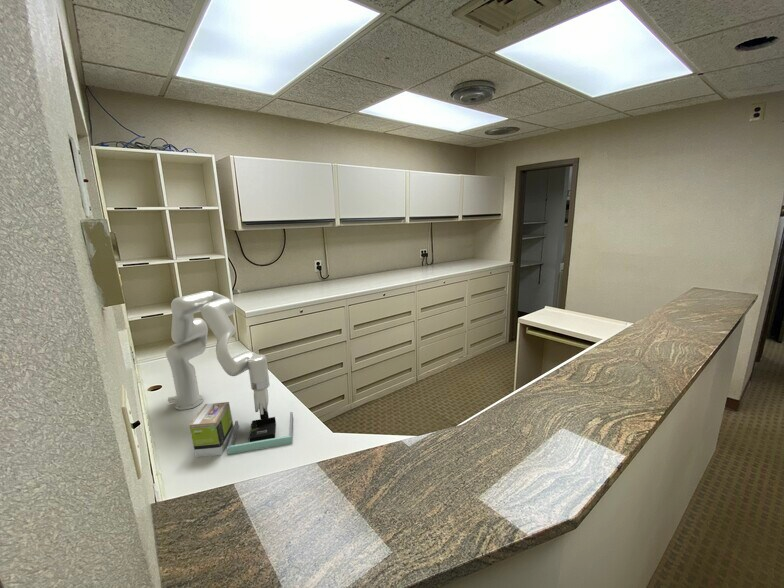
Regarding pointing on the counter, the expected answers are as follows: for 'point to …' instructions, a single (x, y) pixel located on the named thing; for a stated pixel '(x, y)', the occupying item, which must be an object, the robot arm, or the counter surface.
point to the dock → (258, 444)
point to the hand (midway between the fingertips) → (264, 421)
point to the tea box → (211, 429)
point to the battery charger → (262, 429)
